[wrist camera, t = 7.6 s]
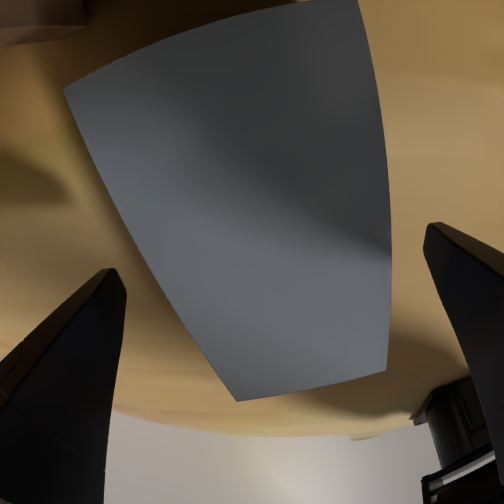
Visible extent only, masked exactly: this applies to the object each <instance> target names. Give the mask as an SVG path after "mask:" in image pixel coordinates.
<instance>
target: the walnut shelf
mask: <svg viewBox="0 0 504 504" xmlns="http://www.w3.org/2000/svg"><path fill="white" fill-rule="evenodd" d="M85 26H87V25H86V20H85V14H84V9H83V3H82V0H0V47H6V46H12V45H18V44H25V43H33V42H42V41H52V40H57V39H59V38H61V37H63V36H65V35H67V34H70V33H72V32H74V31H76V30H78V29H81V28H83V27H85Z"/></svg>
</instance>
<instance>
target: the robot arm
mask: <svg viewBox="0 0 504 504" xmlns="http://www.w3.org/2000/svg"><path fill="white" fill-rule="evenodd" d="M423 253H424V256H425V259H426V262H427V264H428V267H429V270H430V272H431V275H432V278H433V280H434V283H435V286H436V289H437V292H438V294H439V297H440V299H441V302H442V304H443V306H444V308H445V311H446V313H447V315H448V317H449V320H450V322H451V324H452V327H453V329H454V331H455V334H456V336H457V339H458V341H459V344H460V346H461V349H462V351H463V354H464V356H465V359H466V362H467V364H468V367H469V370H470V373H471V375H472V377H470V378H468V379H465V380H462V381H459V382H456V383H454V384H451V385H448V386H445V387H442V388H438V389H436V390H434V391H433V392H432V393H431V394H430V396H429V397H428V399H427V401H426V402H425V404H424V405H423V407H422V409H421V410H420V412H419V413H418V415H417V416H416V418H415V419H414V421H413V423H414V425H415V426H417V425H420V424H424V423H427V422H428V424H429V428H430V431H431V434H432V437H433V441H434V444H435V447H436V451H437V454H438V458H439V461H440V465H441V469H442V470H440V471H438V472H436V473H433V474H431V475H426V476H424V477H422V480H421V483H422V495H423V504H504V253H502V252H500V251H498V250H496V249H495V248H493V247H491V246H489V245H487V244H485V243H483V242H481V241H479V240H477V239H475V238H473V237H471V236H469V235H467V234H465V233H463V232H461V231H459V230H457V229H455V228H453V227H451V226H449V225H446V224H444V223H442V222H435V223H429V224H428V225H427V228H426V234H425V239H424V245H423ZM126 300H127V292H126V289H125V286H124V284H123V282H122V280H121V278H120V276H119V274H118V272H117V271H116V269H114V268H107V269H102V270H100V271H99V272H98V273H97V274H95V275H94V276H93V277H92V278H91V279H90V280H88V281H87V282H86V283H85V284H84V285H83V286H81V287H80V288H79V289H78V290H77V291H76V292H75V293H73V294H72V295H71V296H70V297H69V298H68V299H67V300H66V301H64V302H63V303H62V304H61V305H60V306H59V307H58V308H57V309H56V310H54V311H53V312H52V313H51V314H50V315H49V316H48V317H47V318H46V319H45V320H44V321H42V322H41V323H40V324H39V325H38V326H37V327H36V328H35V329H34V330H33V331H32V332H31V333H30V334H29V335H28V336H27V337H25V338H24V340H23V341H21V342H20V343H19V344H18V345H17V346H16V347H15V348H14V349H13V350H12V351H11V352H10V353H9V354H8V355H7V356H6V357H5V358H4V359H3V360H2V361H0V504H104V484H105V471H104V470H105V466H106V454H107V444H108V435H109V425H110V417H111V410H112V402H113V395H114V388H115V382H116V376H117V369H118V364H119V358H120V352H121V347H122V340H123V331H124V319H125V309H126ZM493 455H495V458H496V459H494V460H493V461H491V462H489V463H487V464H485V465H484V466H482V467H480V468H478V469H476V470H474V471H472V472H470V473H468V474H466V475H464V476H462V477H460V478H458V479H456V480H454V481H452V482H450V483H447V484H445V485H444V484H443V481H444V480H446V479H448V478H451V477H453V476H455V475H457V474H459V473H461V472H463V471H465V470H467V469H469V468H471V467H473V466H475V465H477V464H478V463H480V462H482V461H484V460H486V459H487V458H489V457H491V456H493Z"/></svg>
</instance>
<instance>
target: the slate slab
mask: <svg viewBox="0 0 504 504" xmlns="http://www.w3.org/2000/svg"><path fill="white" fill-rule="evenodd" d="M62 90H63V92H64V95H65V97H66V100H67V102H68V105H69V107H70V110H71V112H72V114H73V117H74V119H75V122H76V124H77V126H78V128H79V131H80V133H81V135H82V138H83V140H84V142H85V144H86V146H87V149H88V151H89V153H90V155H91V157H92V159H93V162H94V164H95V166H96V168H97V170H98V172H99V174H100V176H101V178H102V180H103V182H104V184H105V186H106V188H107V190H108V192H109V194H110V196H111V198H112V200H113V202H114V204H115V206H116V208H117V210H118V212H119V214H120V216H121V218H122V220H123V221H124V223H125V225H126V227H127V229H128V231H129V233H130V234H131V236H132V238H133V240H134V242H135V244H136V245H137V247H138V249H139V251H140V253H141V254H142V256H143V258H144V260H145V261H146V263H147V265H148V267H149V268H150V270H151V272H152V273H153V275H154V277H155V279H156V280H157V282H158V284H159V285H160V287H161V289H162V290H163V292H164V294H165V295H166V297H167V299H168V300H169V302H170V303H171V305H172V307H173V308H174V310H175V311H176V313H177V315H178V316H179V318H180V319H181V321H182V323H183V324H184V326H185V327H186V329H187V330H188V332H189V333H190V335H191V337H192V338H193V340H194V341H195V343H196V344H197V346H198V347H199V349H200V350H201V352H202V353H203V355H204V356H205V358H206V359H207V361H208V362H209V363H210V365H211V366H212V368H213V369H214V371H215V372H216V374H217V375H218V376H219V378H220V379H221V381H222V382H223V384H224V385H225V386H226V388H227V389H228V391H229V392H230V393H231V395H232V396H233V397H234V399H235V400H236V402H238V401H246V400H253V399H259V398H265V397H271V396H277V395H283V394H288V393H294V392H299V391H304V390H309V389H313V388H318V387H323V386H327V385H332V384H336V383H340V382H344V381H348V380H352V379H356V378H360V377H364V376H367V375H371V374H375V373H378V372H382V371H385V370H386V365H387V354H388V342H389V328H390V311H391V280H392V243H391V212H390V194H389V180H388V168H387V157H386V148H385V139H384V131H383V123H382V116H381V109H380V103H379V96H378V90H377V85H376V79H375V74H374V69H373V64H372V59H371V54H370V49H369V45H368V40H367V36H366V32H365V28H364V24H363V20H362V16H361V12H360V8H359V5H358V1H357V0H310V1H304V2H297V3H291V4H286V5H281V6H275V7H271V8H266V9H261V10H257V11H253V12H248V13H244V14H241V15H237V16H233V17H229V18H226V19H222V20H219V21H215V22H212V23H209V24H206V25H203V26H199V27H196V28H193V29H190V30H188V31H185V32H182V33H179V34H176V35H174V36H171V37H168V38H166V39H163V40H161V41H158V42H156V43H153V44H151V45H148V46H146V47H144V48H141V49H139V50H137V51H134V52H132V53H130V54H128V55H126V56H124V57H121V58H119V59H117V60H115V61H113V62H111V63H109V64H107V65H105V66H103V67H101V68H99V69H97V70H95V71H93V72H92V73H90V74H88V75H86V76H84V77H82V78H81V79H79V80H77V81H75V82H74V83H72V84H70V85H68V86H67V87H65V88H63V89H62Z"/></svg>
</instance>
